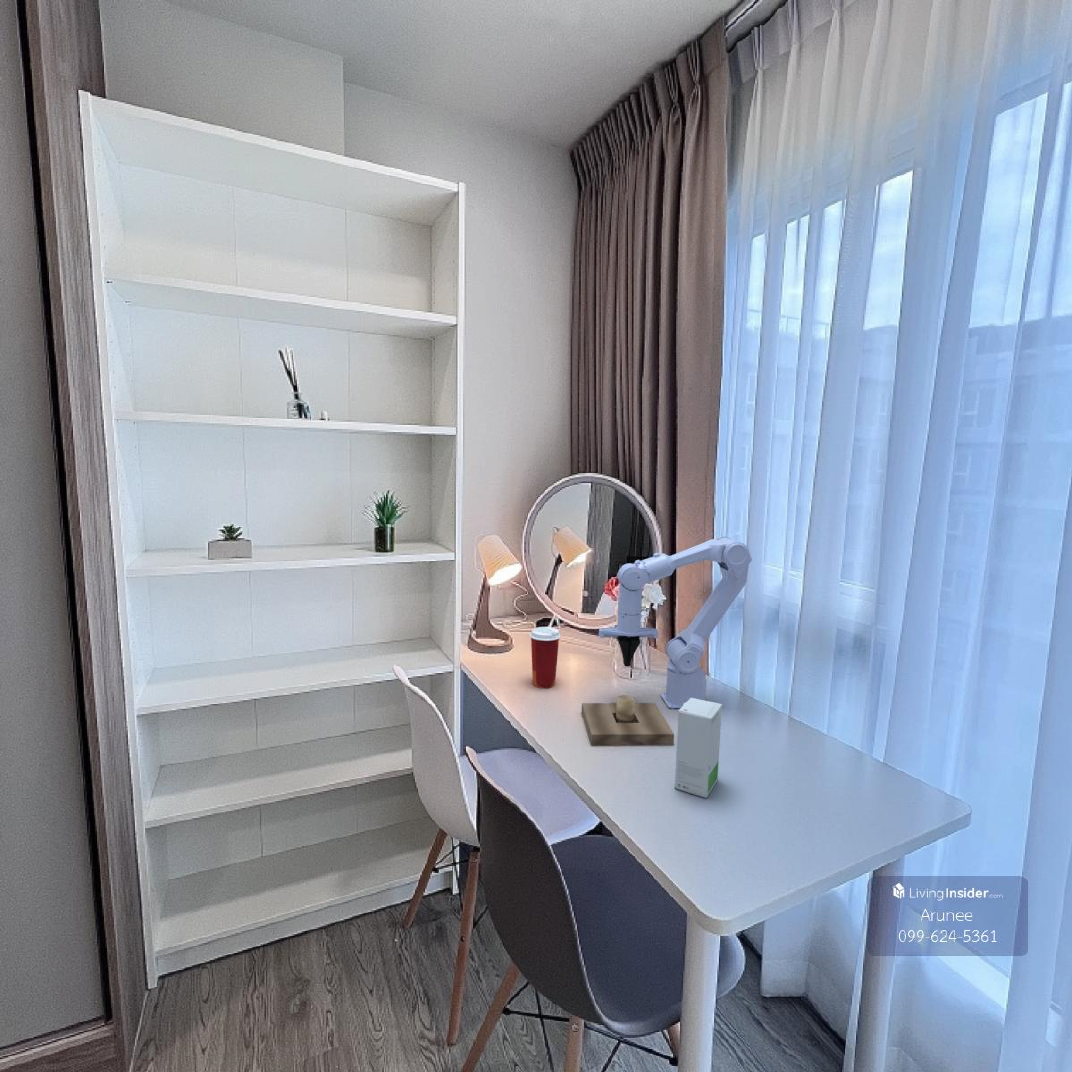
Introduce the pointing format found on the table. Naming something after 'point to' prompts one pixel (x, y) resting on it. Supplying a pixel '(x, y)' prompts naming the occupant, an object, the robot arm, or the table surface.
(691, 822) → the table surface
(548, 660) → the coffee cup
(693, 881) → the table surface
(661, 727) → the board
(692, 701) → the skincare box
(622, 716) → the peg
